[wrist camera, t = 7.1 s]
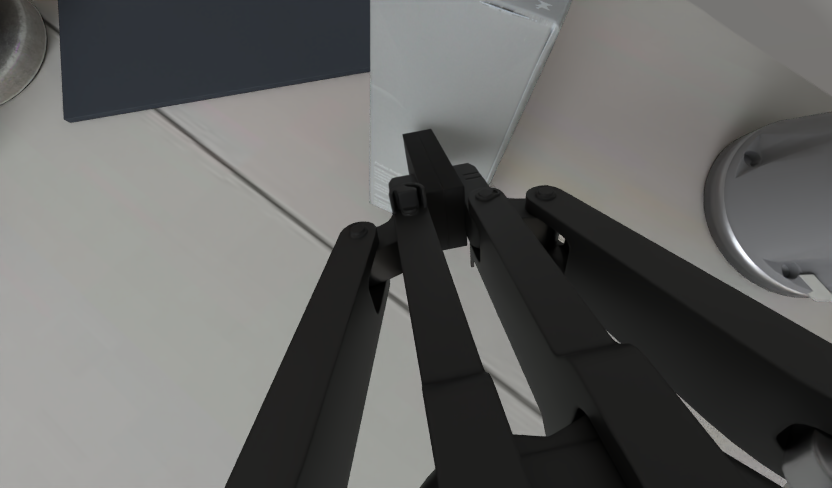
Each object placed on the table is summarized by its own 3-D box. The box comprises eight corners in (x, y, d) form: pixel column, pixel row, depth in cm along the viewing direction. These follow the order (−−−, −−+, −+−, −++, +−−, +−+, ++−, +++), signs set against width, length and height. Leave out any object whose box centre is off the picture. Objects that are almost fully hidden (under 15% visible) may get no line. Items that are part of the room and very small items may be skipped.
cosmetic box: (483, 195, 28) (595, -27, 16) (455, 254, 24) (576, 22, 11) (397, 156, 29) (437, -84, 16) (357, 207, 25) (366, -58, 12)
